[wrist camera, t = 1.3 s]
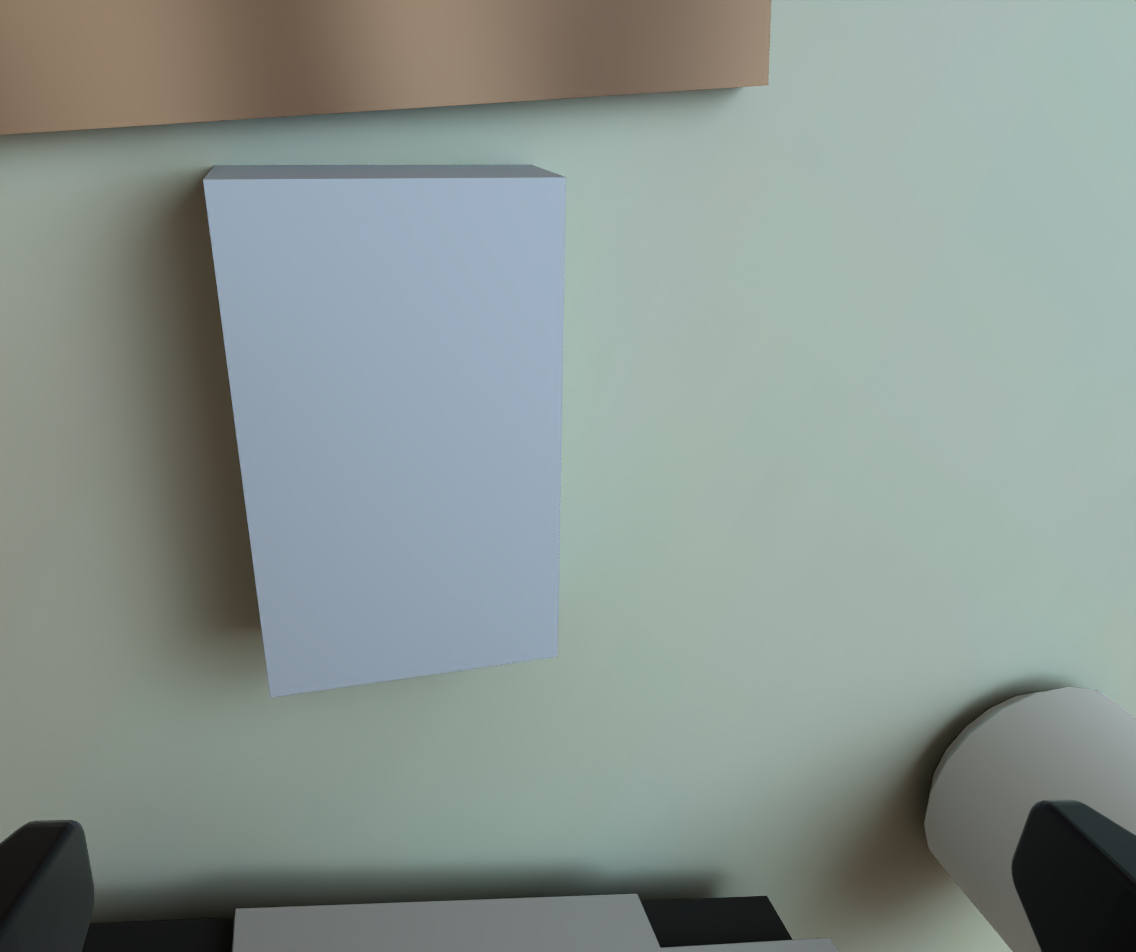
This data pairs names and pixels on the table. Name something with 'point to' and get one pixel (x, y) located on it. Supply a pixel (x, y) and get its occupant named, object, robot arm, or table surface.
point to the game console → (474, 928)
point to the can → (1025, 789)
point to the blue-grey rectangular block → (395, 411)
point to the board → (355, 55)
